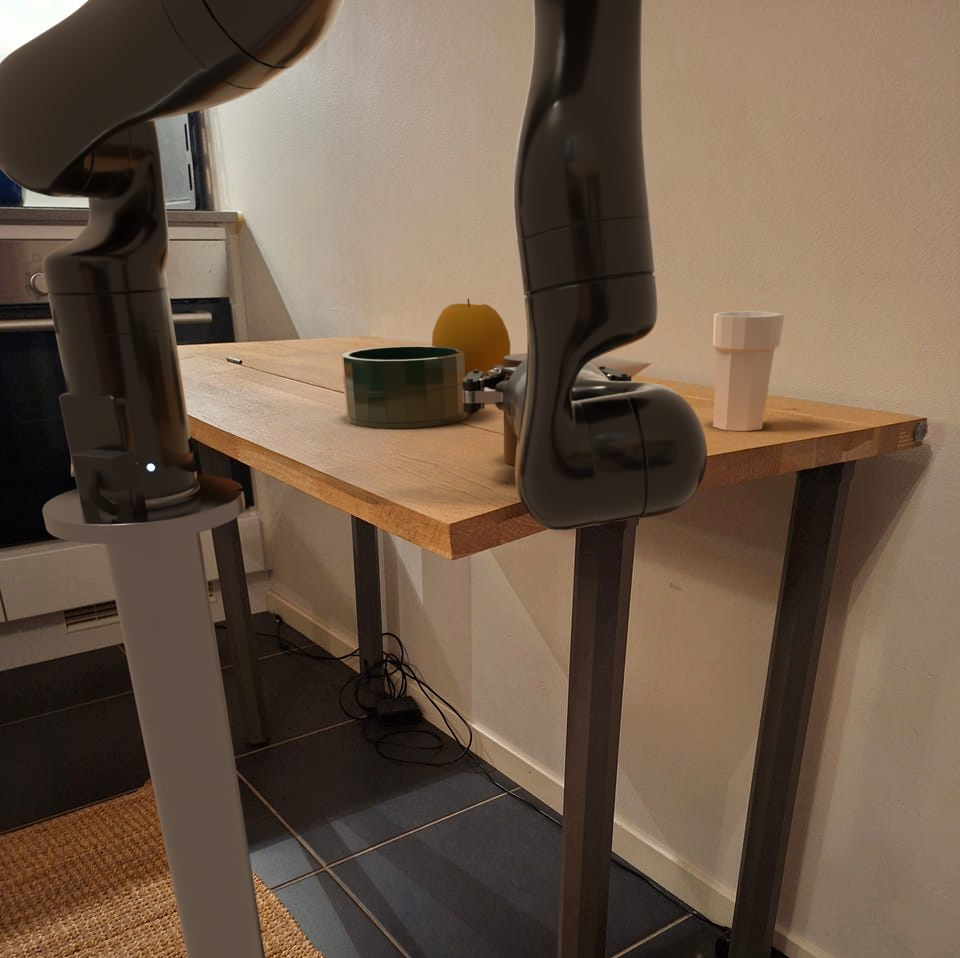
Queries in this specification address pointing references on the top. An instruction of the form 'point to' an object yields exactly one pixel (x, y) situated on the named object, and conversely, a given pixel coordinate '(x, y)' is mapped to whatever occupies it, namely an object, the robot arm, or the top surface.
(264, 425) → the top surface
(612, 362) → the ice cream cone
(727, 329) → the cup
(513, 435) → the brown wooden cylinder
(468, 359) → the apple
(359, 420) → the pot
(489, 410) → the top surface
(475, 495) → the top surface
